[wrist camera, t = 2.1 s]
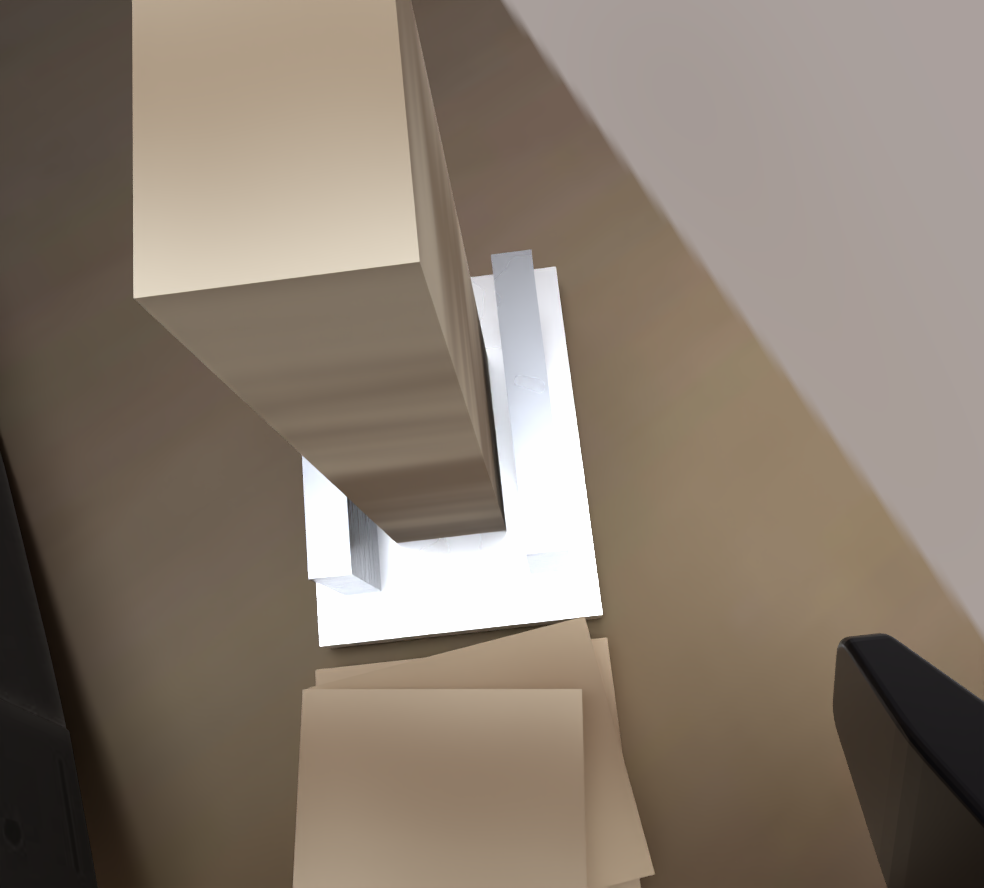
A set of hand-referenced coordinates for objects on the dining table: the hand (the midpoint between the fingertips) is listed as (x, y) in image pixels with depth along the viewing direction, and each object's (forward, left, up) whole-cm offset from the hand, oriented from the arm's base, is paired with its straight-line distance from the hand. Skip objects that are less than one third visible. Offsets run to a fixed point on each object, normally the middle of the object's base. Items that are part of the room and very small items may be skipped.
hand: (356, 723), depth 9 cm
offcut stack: (-1, +1, -12) cm, 12 cm away
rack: (+4, -4, -12) cm, 13 cm away
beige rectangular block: (+4, -4, -11) cm, 12 cm away
